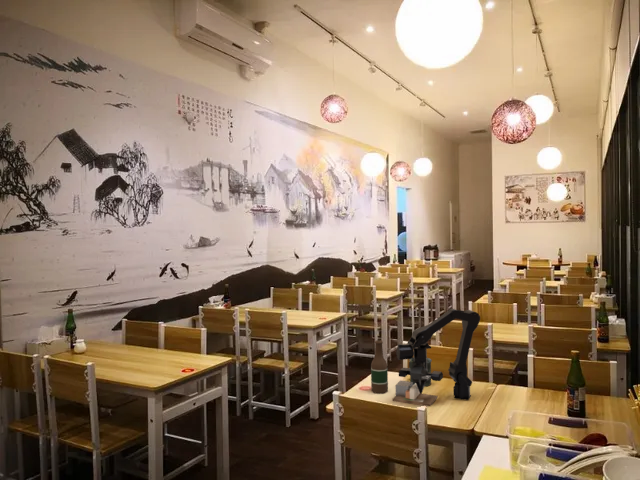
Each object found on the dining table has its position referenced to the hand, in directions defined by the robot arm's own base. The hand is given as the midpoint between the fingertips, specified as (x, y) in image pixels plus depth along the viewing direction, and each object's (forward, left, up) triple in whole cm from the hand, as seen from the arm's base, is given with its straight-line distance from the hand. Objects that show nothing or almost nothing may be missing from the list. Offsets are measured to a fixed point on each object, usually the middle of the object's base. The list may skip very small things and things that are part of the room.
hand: (421, 393), depth 223 cm
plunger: (+6, 0, -2) cm, 6 cm away
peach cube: (+5, +3, -2) cm, 6 cm away
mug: (+8, -24, -3) cm, 26 cm away
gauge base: (+3, 0, -3) cm, 4 cm away
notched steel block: (+8, -2, -2) cm, 9 cm away
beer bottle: (+21, -4, -3) cm, 22 cm away
